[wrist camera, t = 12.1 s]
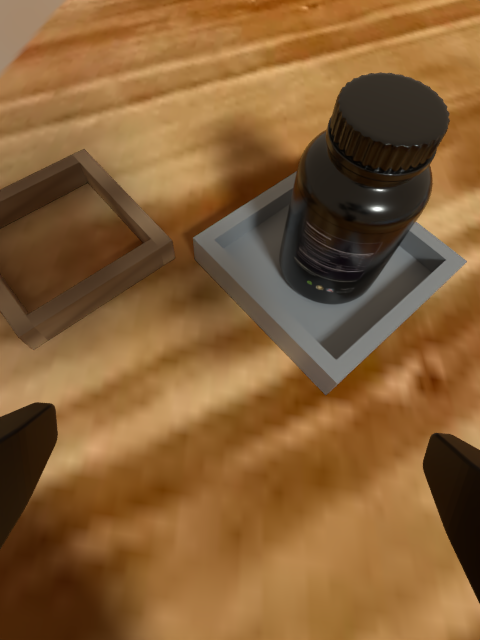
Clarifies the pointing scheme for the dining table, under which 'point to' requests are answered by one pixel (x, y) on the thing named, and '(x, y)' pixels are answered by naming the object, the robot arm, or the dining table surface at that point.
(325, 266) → the supplement bottle
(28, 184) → the walnut collar
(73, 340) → the dining table surface
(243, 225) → the grey tray
